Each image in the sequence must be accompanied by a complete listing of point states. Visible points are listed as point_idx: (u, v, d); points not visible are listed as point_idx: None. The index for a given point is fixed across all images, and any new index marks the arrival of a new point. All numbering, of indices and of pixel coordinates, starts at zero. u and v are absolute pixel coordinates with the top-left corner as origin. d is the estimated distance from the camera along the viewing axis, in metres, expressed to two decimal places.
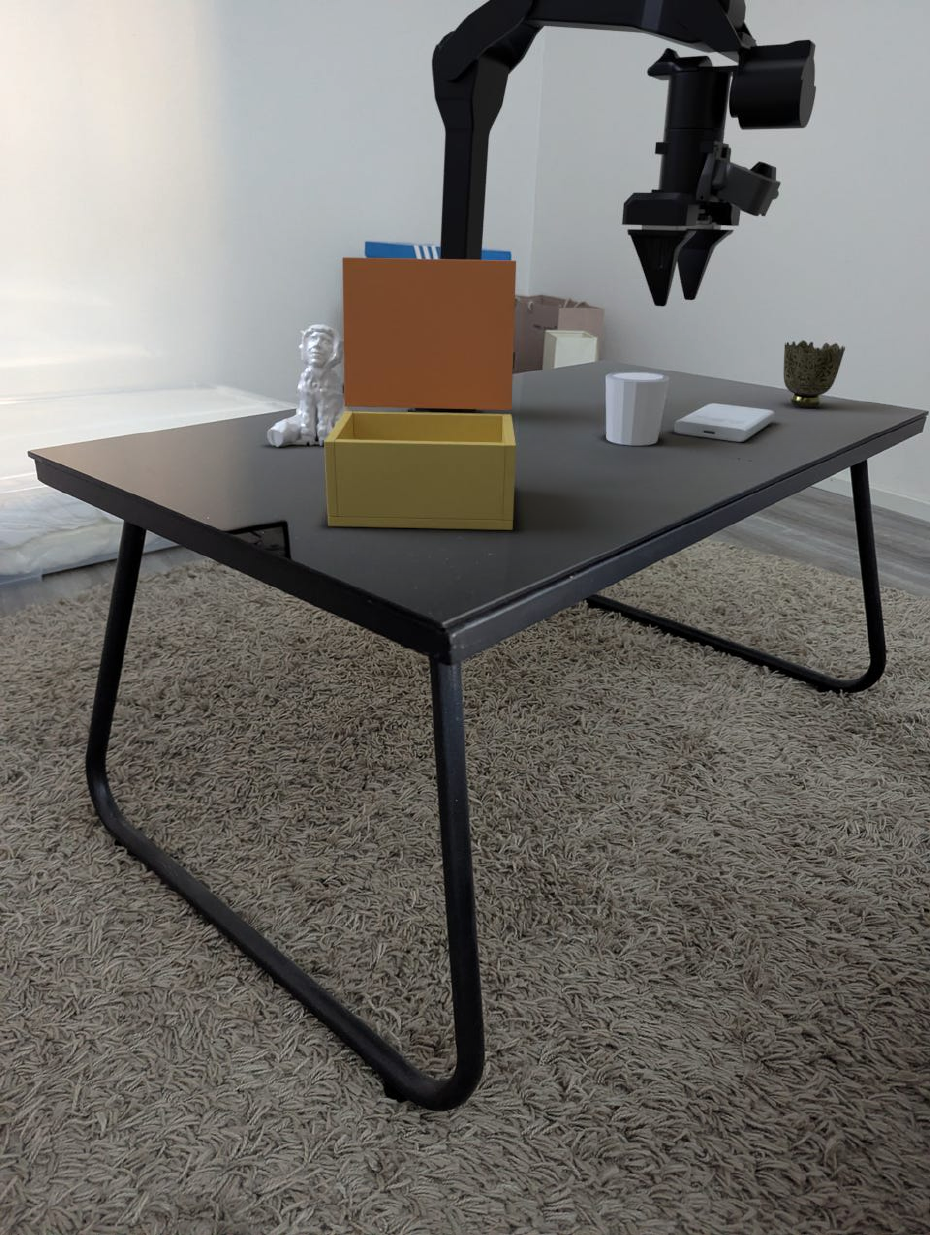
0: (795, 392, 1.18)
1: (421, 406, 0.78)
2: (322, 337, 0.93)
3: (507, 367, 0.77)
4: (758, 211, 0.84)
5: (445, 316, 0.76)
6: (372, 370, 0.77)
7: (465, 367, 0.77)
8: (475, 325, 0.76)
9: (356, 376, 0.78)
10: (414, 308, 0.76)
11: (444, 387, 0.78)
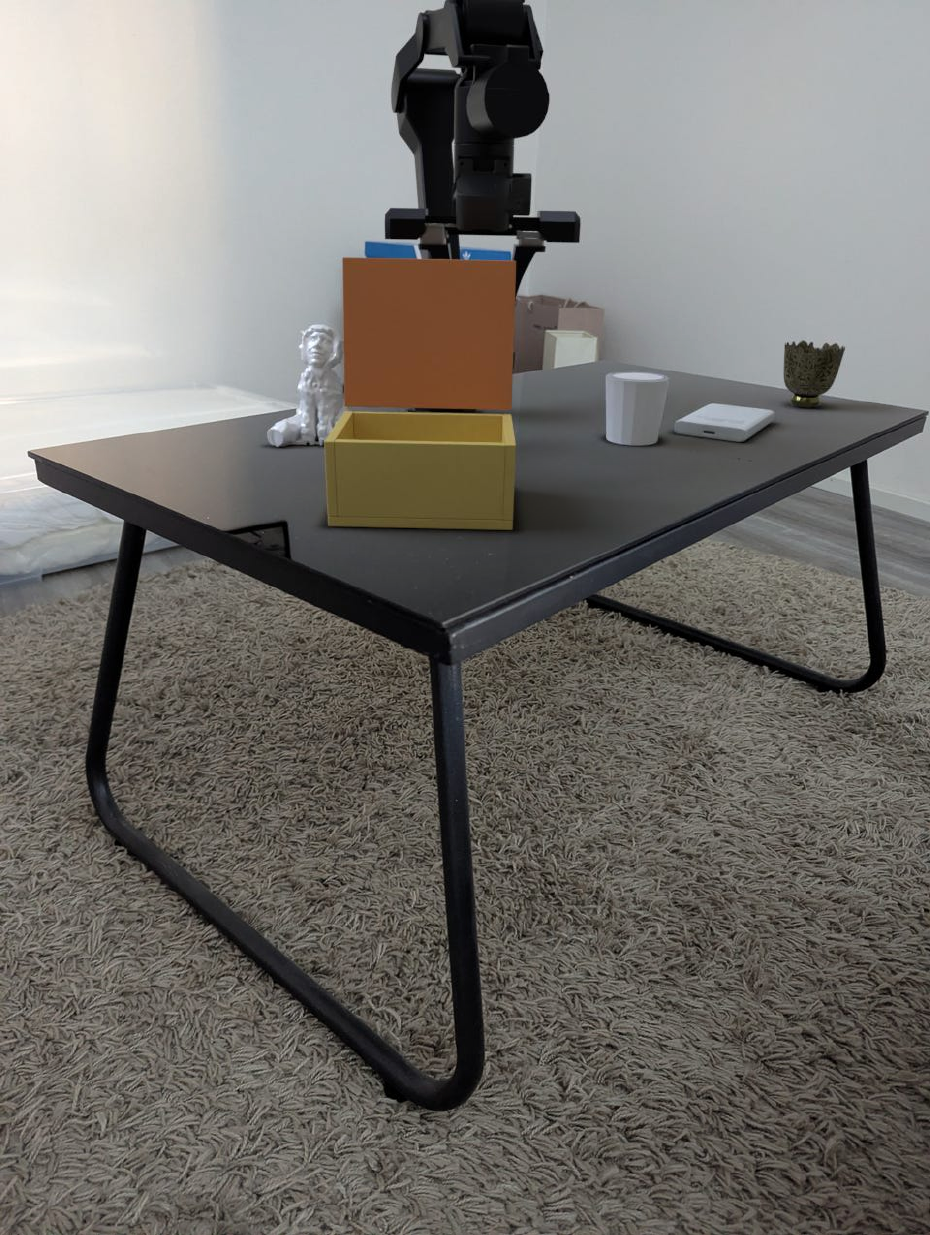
0: (795, 392, 1.18)
1: (421, 406, 0.78)
2: (322, 337, 0.93)
3: (507, 367, 0.77)
4: (464, 226, 0.81)
5: (445, 316, 0.76)
6: (372, 370, 0.77)
7: (465, 367, 0.77)
8: (475, 325, 0.76)
9: (356, 376, 0.78)
10: (414, 308, 0.76)
11: (444, 387, 0.78)
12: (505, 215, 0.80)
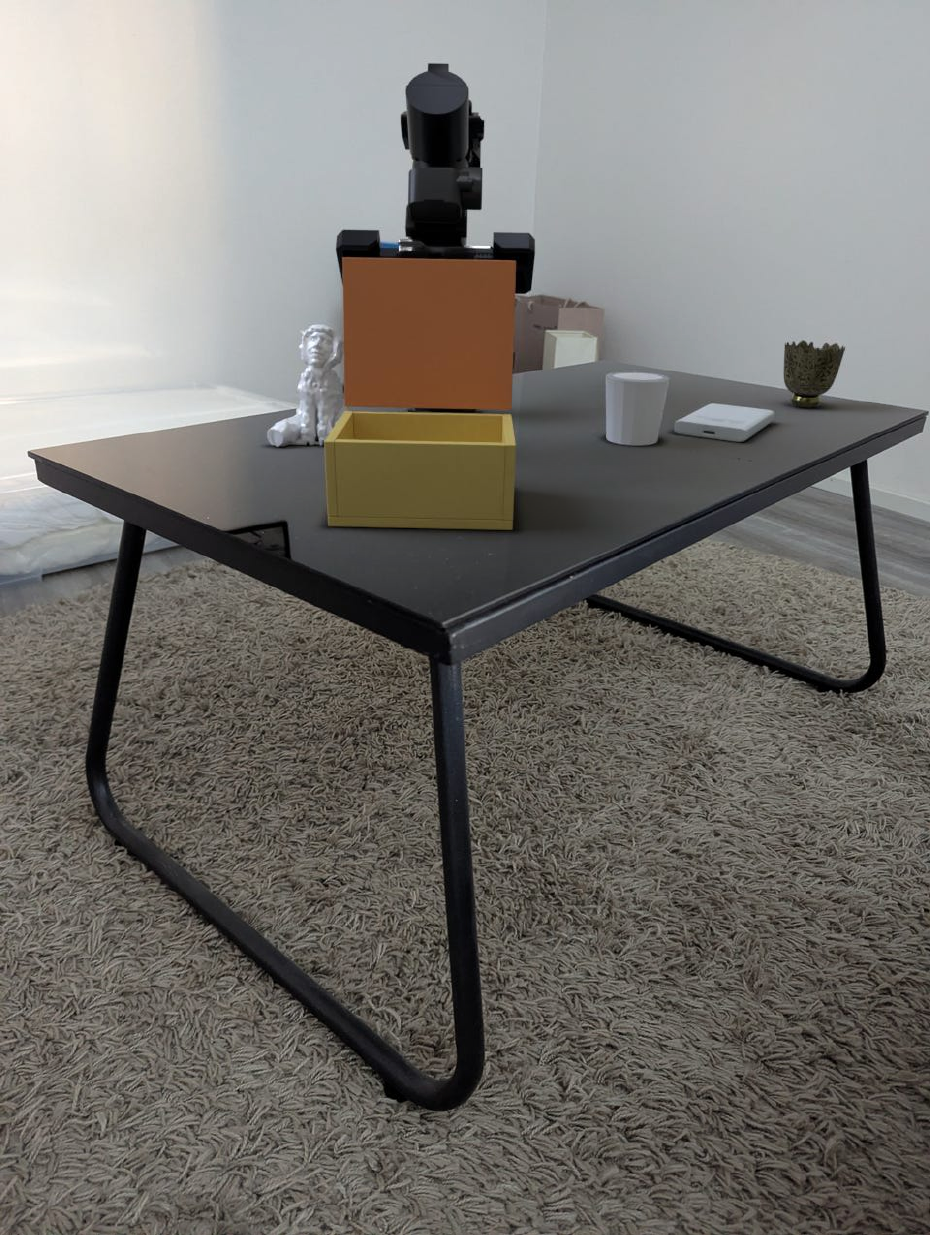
0: (795, 392, 1.18)
1: (421, 406, 0.78)
2: (322, 337, 0.93)
3: (507, 367, 0.77)
4: (416, 197, 0.80)
5: (445, 316, 0.76)
6: (372, 370, 0.77)
7: (465, 367, 0.77)
8: (475, 325, 0.76)
9: (356, 376, 0.78)
10: (414, 308, 0.76)
11: (444, 387, 0.78)
12: (457, 188, 0.80)
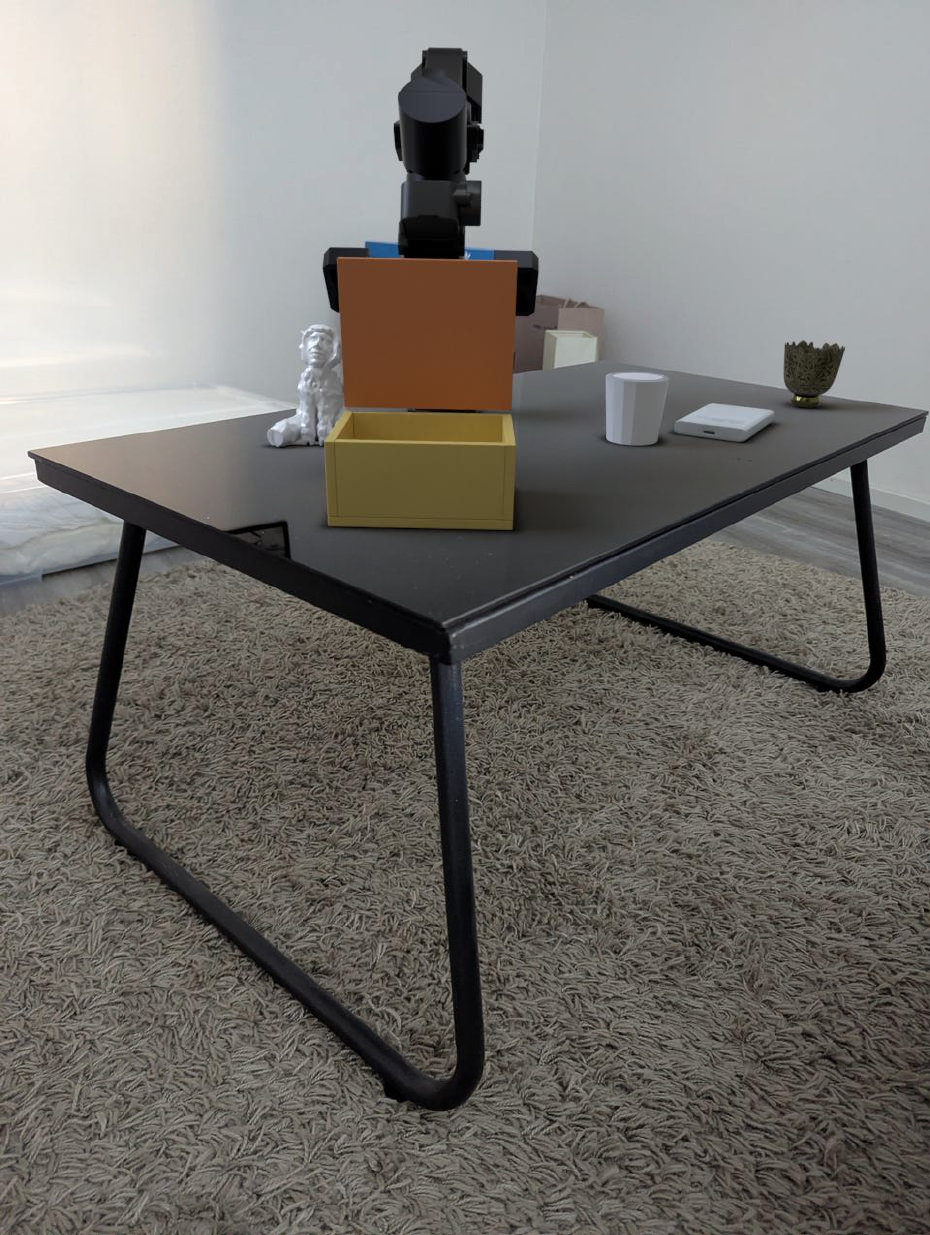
0: (795, 392, 1.18)
1: (421, 407, 0.78)
2: (322, 337, 0.93)
3: (508, 369, 0.76)
4: (409, 212, 0.73)
5: (445, 318, 0.75)
6: (371, 372, 0.77)
7: (465, 369, 0.77)
8: (475, 327, 0.75)
9: (355, 378, 0.77)
10: (412, 310, 0.74)
11: (444, 389, 0.77)
12: (454, 203, 0.73)
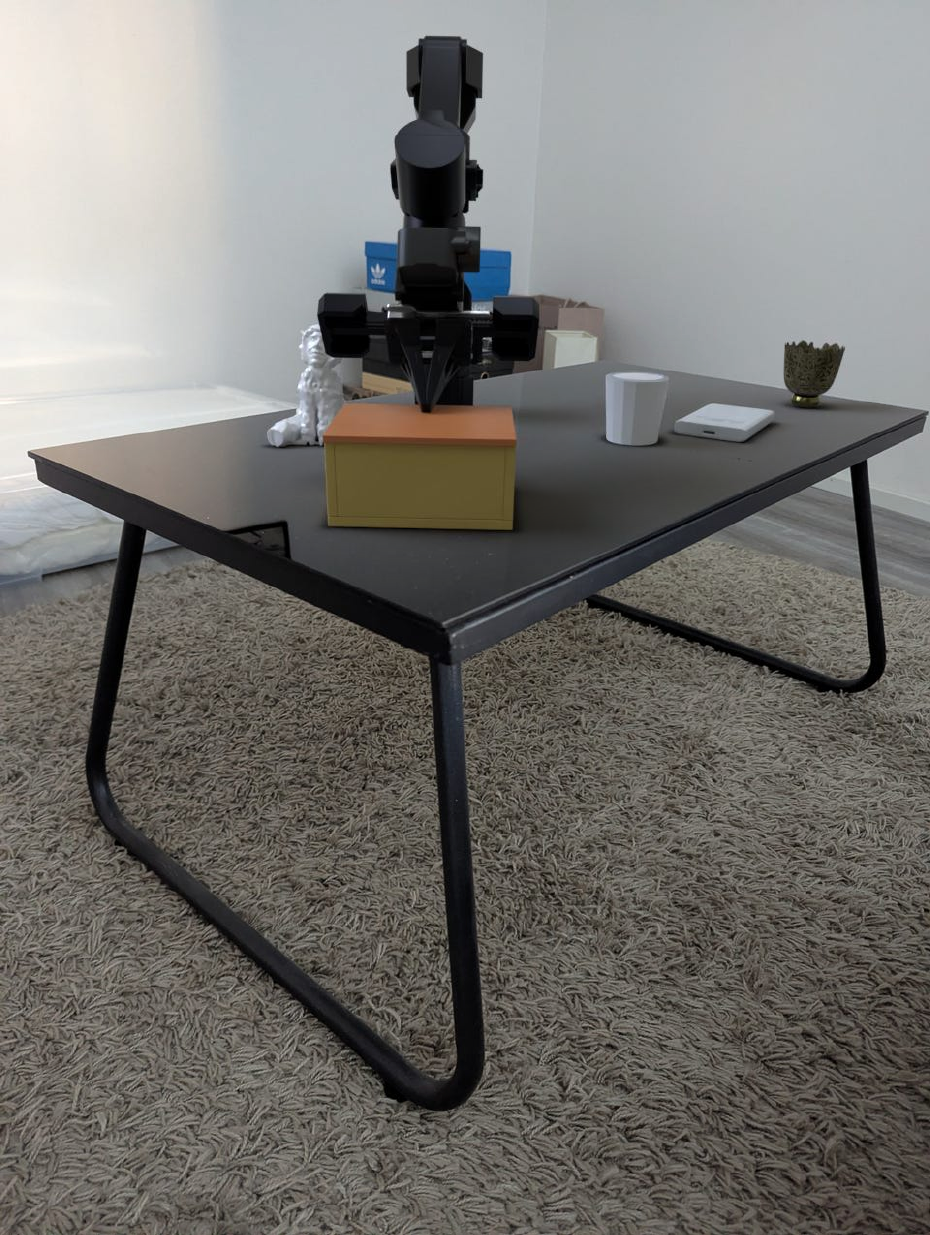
0: (795, 392, 1.18)
1: None
2: None
3: None
4: (406, 260, 0.71)
5: None
6: None
7: None
8: None
9: None
10: None
11: None
12: (452, 251, 0.71)
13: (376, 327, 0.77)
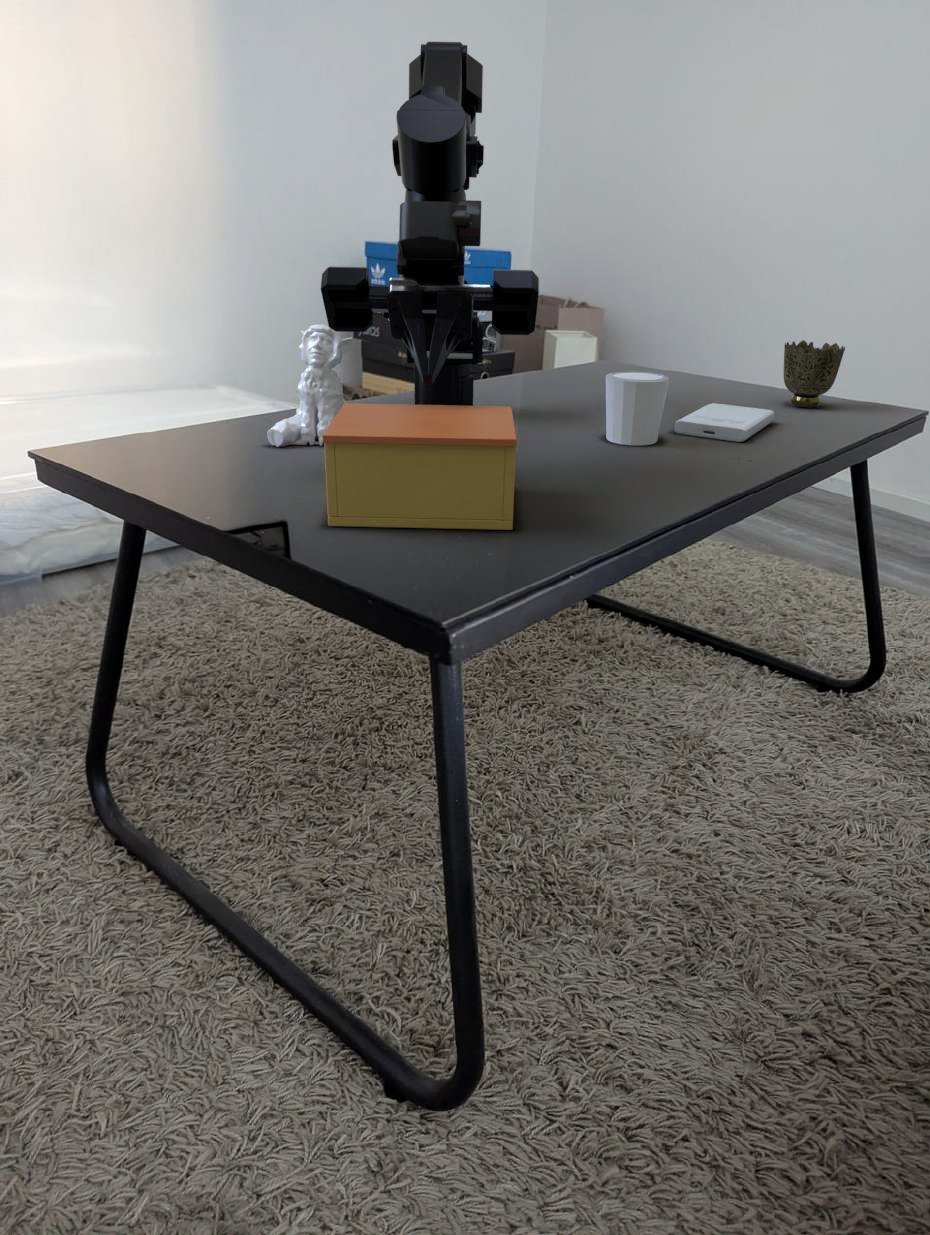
0: (795, 392, 1.18)
1: None
2: (322, 337, 0.93)
3: None
4: (408, 233, 0.72)
5: None
6: None
7: None
8: None
9: None
10: None
11: None
12: (453, 224, 0.73)
13: (378, 301, 0.79)
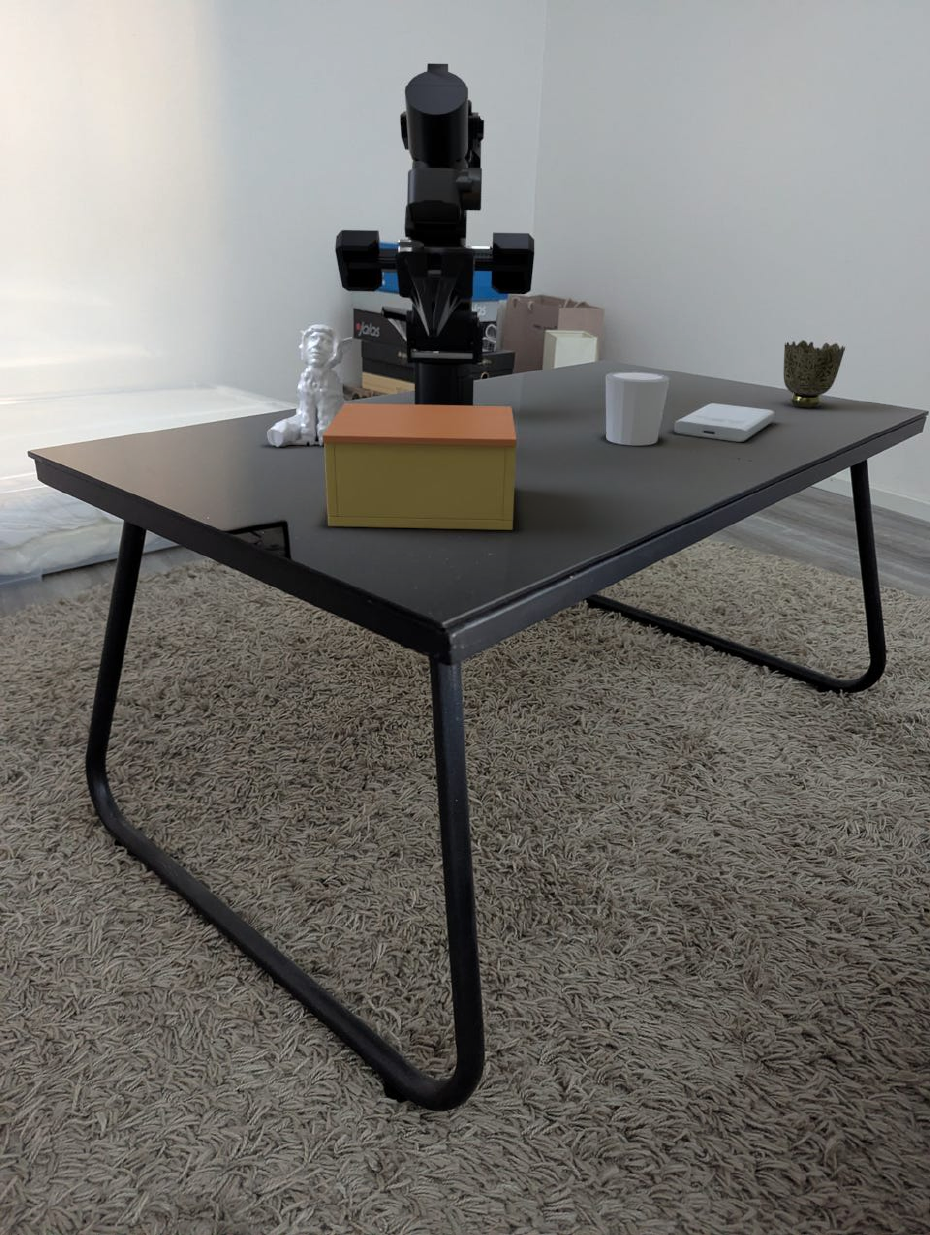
0: (795, 392, 1.18)
1: None
2: (322, 337, 0.93)
3: None
4: (415, 197, 0.80)
5: None
6: None
7: None
8: None
9: None
10: None
11: None
12: (456, 189, 0.80)
13: (388, 261, 0.86)
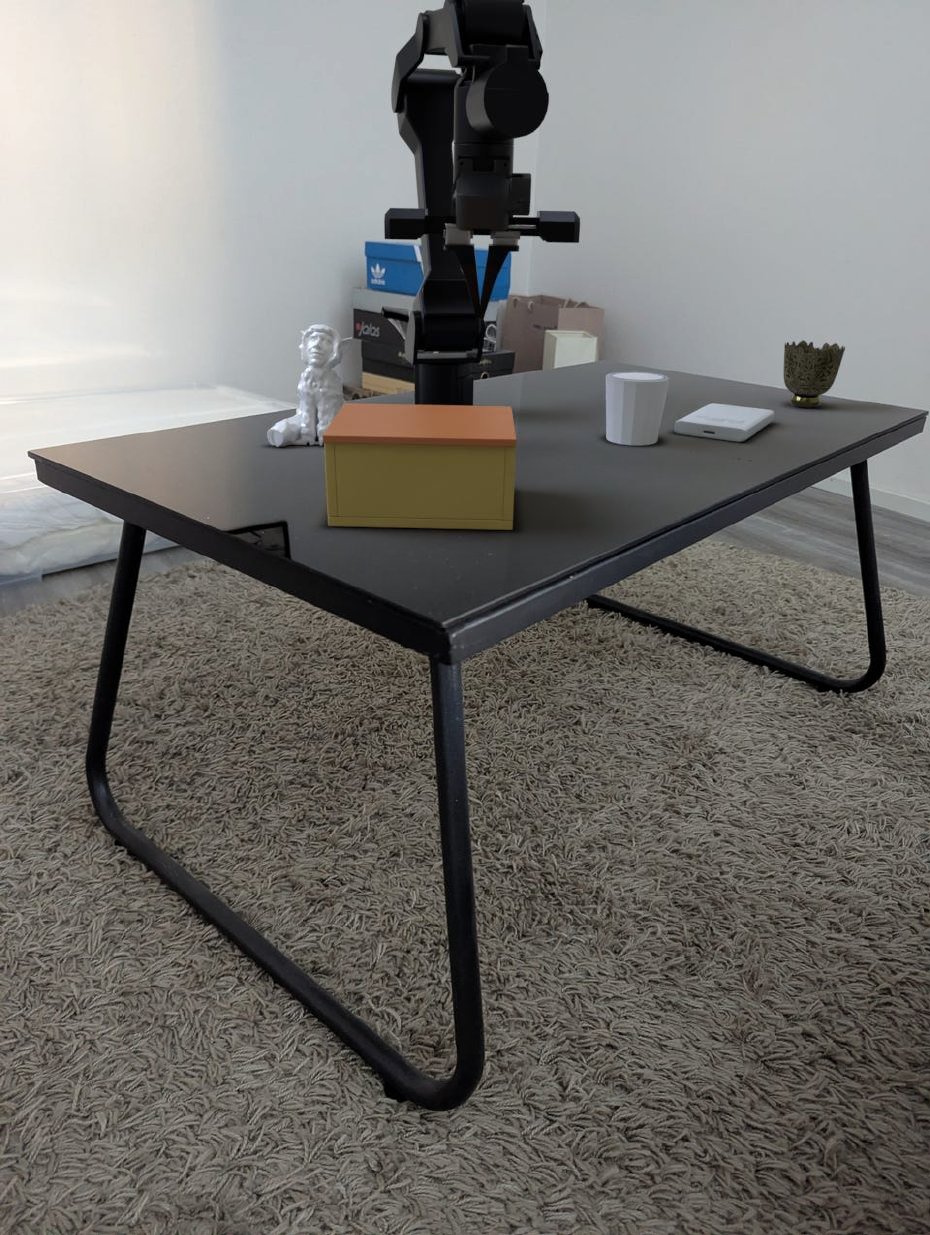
0: (795, 392, 1.18)
1: None
2: (322, 337, 0.93)
3: None
4: (464, 225, 0.81)
5: None
6: None
7: None
8: None
9: None
10: None
11: None
12: (505, 215, 0.80)
13: (435, 232, 0.88)
